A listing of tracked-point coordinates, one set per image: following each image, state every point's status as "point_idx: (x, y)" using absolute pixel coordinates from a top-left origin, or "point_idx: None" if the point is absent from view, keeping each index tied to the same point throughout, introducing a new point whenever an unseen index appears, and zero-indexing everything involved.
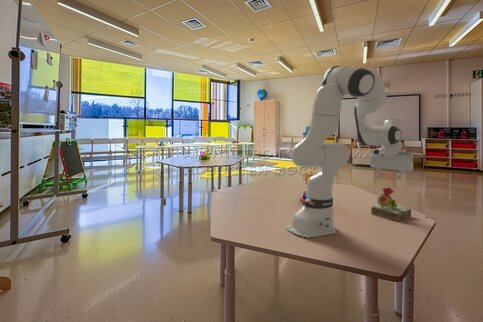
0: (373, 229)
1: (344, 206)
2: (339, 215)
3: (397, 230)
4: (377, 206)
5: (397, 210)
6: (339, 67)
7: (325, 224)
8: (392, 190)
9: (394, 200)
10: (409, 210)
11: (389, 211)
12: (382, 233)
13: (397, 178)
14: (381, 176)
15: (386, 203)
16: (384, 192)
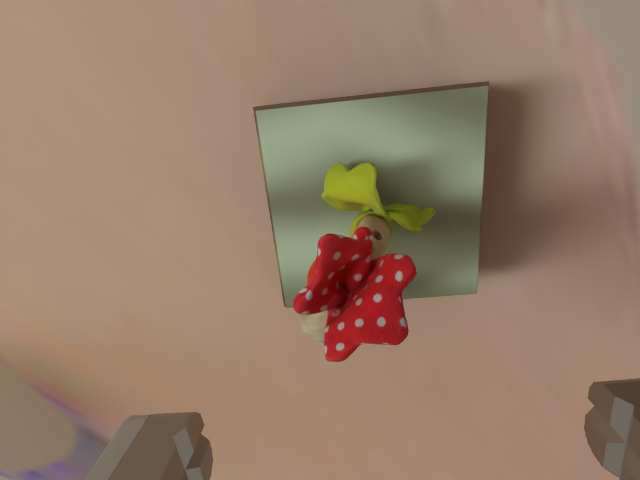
0: (457, 450)
1: (87, 302)
2: (234, 439)
3: (534, 380)
4: (298, 269)
5: (444, 230)
6: None
7: None
8: (409, 279)
9: (416, 232)
10: (486, 111)
11: (422, 296)
12: (508, 455)
13: (598, 450)
14: (209, 467)
15: (263, 117)
16: (334, 311)
